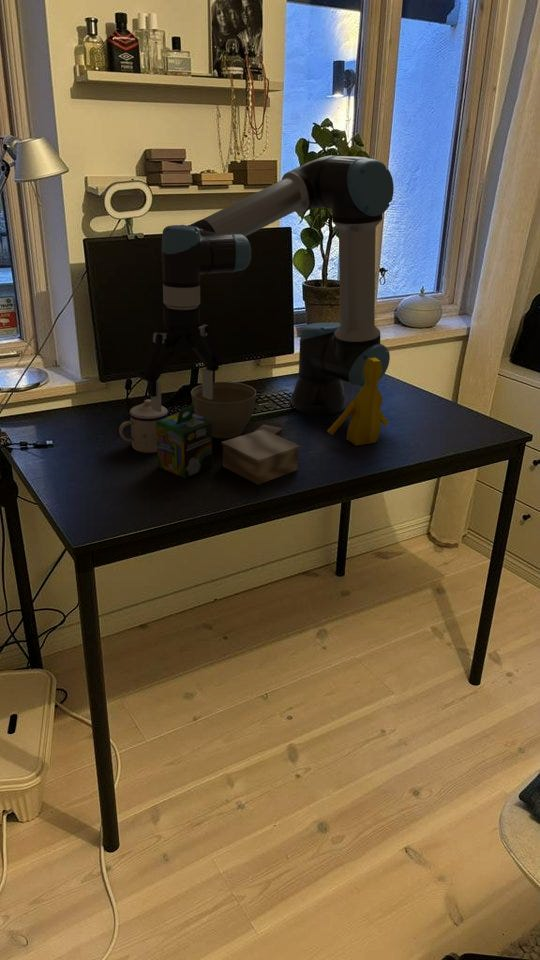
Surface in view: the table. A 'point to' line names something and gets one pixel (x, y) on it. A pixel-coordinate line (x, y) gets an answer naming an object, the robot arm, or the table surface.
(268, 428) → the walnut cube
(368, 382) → the figure statuette
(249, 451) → the plinth
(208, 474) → the table surface
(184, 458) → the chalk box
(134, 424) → the teacup with lid
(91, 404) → the table surface
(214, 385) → the planter bowl
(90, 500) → the table surface
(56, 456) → the table surface
